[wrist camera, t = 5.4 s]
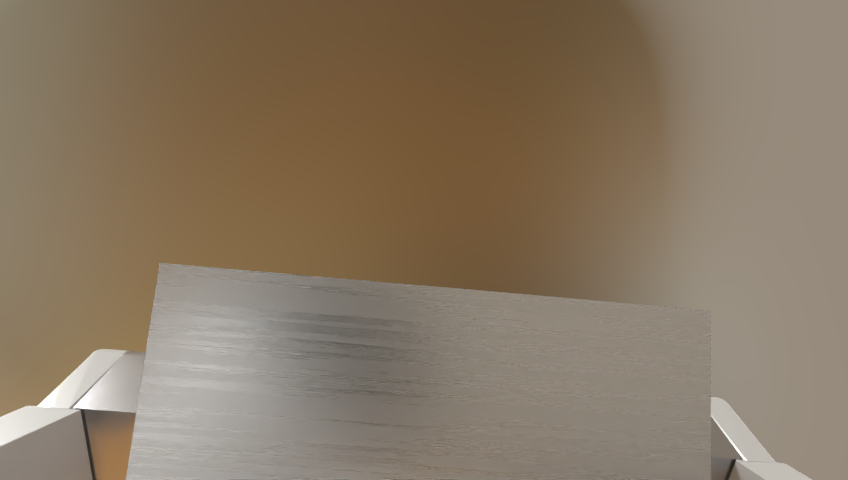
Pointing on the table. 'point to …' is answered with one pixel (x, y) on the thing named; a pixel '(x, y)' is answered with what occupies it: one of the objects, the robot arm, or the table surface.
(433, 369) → the grey rectangular bar
